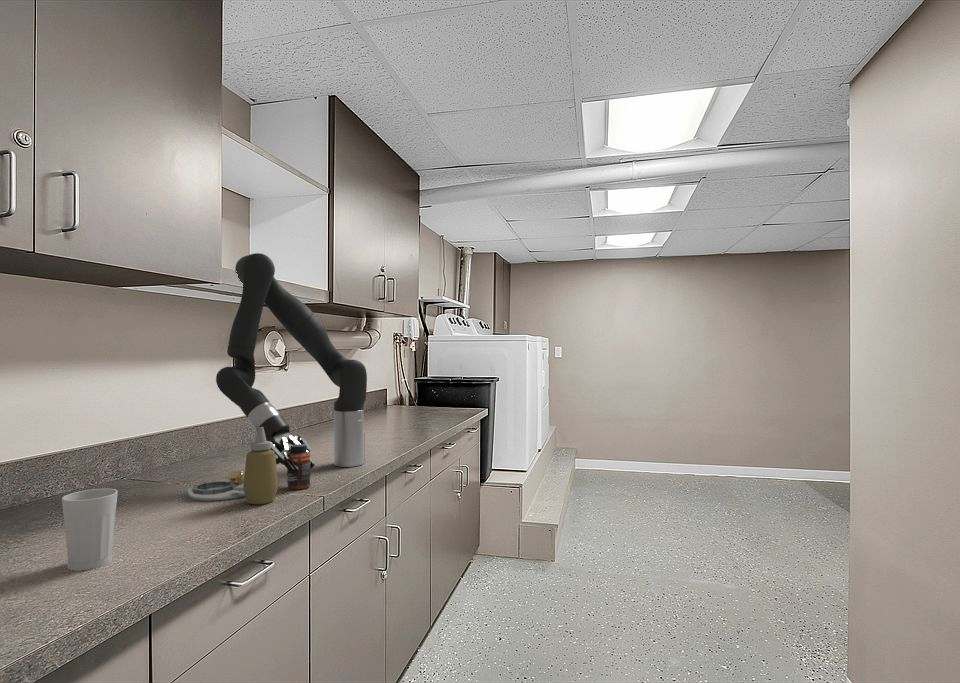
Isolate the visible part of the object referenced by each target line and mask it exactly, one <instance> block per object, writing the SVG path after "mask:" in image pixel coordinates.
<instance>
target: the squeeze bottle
mask: <svg viewBox="0 0 960 683" xmlns="http://www.w3.org/2000/svg"><path fill="white" fill-rule="evenodd" d="M270 449H271V442H270V441H266V437H265V432H264V428H263V427H258V431H257V432H256V436H255V440H254V441H252V442H250V451H248V452H246V456H245V457H246V458H245V467H244V484H243V490H244V493H245V496H244V497H245V498H246V501H247V503H248V504H250V505H265V504H269V503H271V502H273V501H274V500H275V498H276V497H275V496H276V494H277V492H278V489H279V479H278V470H277V464H276V458H277V457H276V454H275V452H274V451H273V450H270ZM275 457H276V458H275Z"/></svg>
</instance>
